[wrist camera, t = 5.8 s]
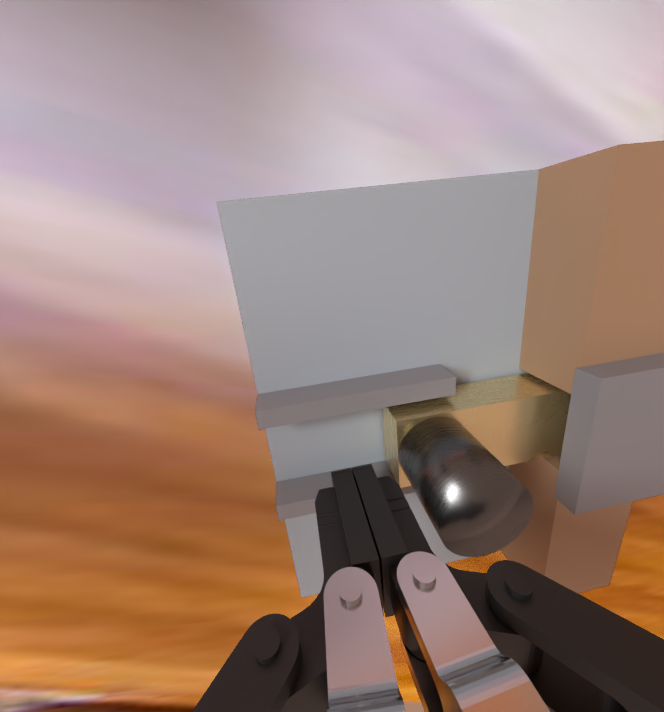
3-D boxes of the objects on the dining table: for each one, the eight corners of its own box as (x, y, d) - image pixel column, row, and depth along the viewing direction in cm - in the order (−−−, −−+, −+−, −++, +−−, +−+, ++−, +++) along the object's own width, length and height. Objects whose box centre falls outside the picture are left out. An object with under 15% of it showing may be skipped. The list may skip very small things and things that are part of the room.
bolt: (384, 458, 15) (439, 568, 10) (380, 398, 14) (440, 487, 9) (573, 420, 16) (712, 502, 11) (583, 362, 15) (743, 423, 10)
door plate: (299, 571, 19) (307, 693, 14) (223, 207, 12) (180, 175, 7) (544, 515, 20) (632, 604, 15) (599, 168, 14) (791, 120, 9)
